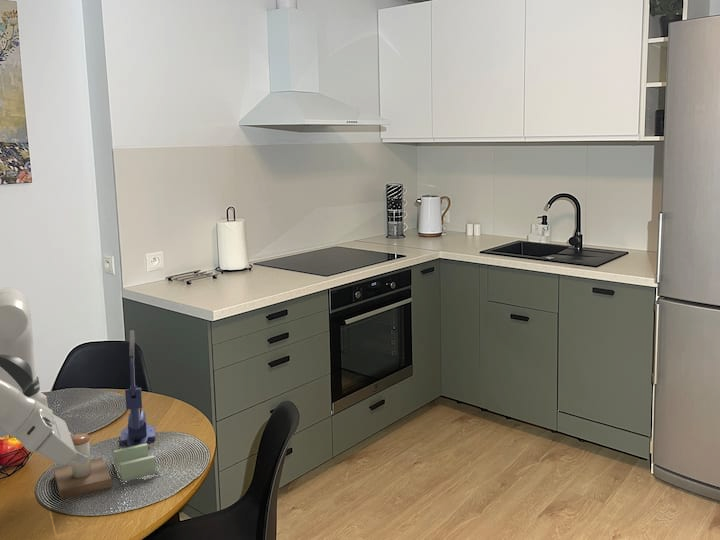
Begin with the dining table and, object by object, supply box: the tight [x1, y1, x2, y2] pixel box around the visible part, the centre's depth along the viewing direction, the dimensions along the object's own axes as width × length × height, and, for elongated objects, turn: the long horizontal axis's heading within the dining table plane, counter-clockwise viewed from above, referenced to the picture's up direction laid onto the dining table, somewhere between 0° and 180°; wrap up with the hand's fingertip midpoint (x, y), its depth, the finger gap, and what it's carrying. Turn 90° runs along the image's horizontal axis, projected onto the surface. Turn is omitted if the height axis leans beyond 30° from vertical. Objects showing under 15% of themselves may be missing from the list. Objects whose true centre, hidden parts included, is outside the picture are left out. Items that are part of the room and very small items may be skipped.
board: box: [53, 457, 113, 501], centre depth 161 cm, size 12×11×2 cm
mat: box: [118, 468, 162, 488], centre depth 167 cm, size 14×9×1 cm, turn 30°
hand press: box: [120, 330, 156, 447], centre depth 181 cm, size 19×9×28 cm, turn 17°
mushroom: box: [70, 433, 92, 478], centre depth 159 cm, size 4×4×9 cm
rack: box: [113, 443, 158, 482], centre depth 166 cm, size 10×8×4 cm
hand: (83, 453), depth 160 cm, fingers open, 7 cm apart
